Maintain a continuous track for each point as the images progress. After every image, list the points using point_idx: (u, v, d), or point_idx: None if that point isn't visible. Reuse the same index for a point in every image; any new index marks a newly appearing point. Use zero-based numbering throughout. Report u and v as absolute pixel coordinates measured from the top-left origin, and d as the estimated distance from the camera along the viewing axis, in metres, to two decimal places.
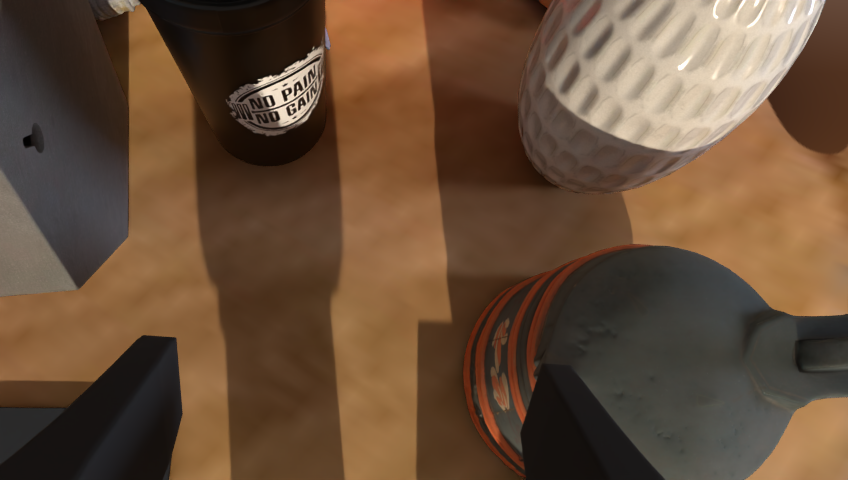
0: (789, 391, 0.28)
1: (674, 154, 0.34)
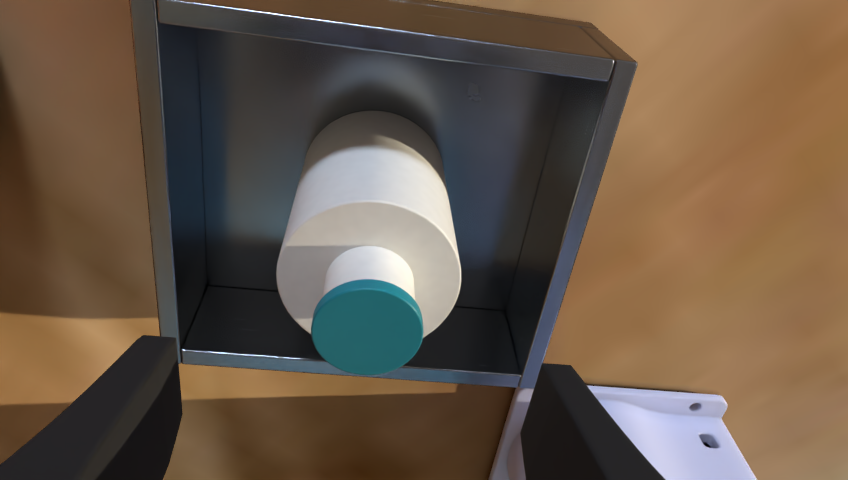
0: None
1: None
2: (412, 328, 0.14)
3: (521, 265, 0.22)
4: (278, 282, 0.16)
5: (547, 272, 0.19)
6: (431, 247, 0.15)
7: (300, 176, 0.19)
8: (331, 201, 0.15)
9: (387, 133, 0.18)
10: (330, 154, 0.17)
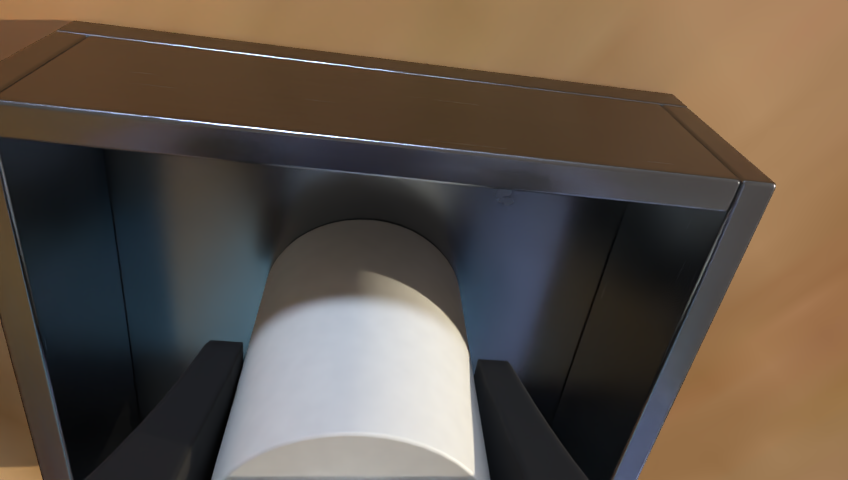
0: None
1: None
2: None
3: (565, 409, 0.17)
4: None
5: (611, 451, 0.14)
6: None
7: (255, 321, 0.13)
8: (285, 428, 0.09)
9: (380, 266, 0.12)
10: (294, 307, 0.12)
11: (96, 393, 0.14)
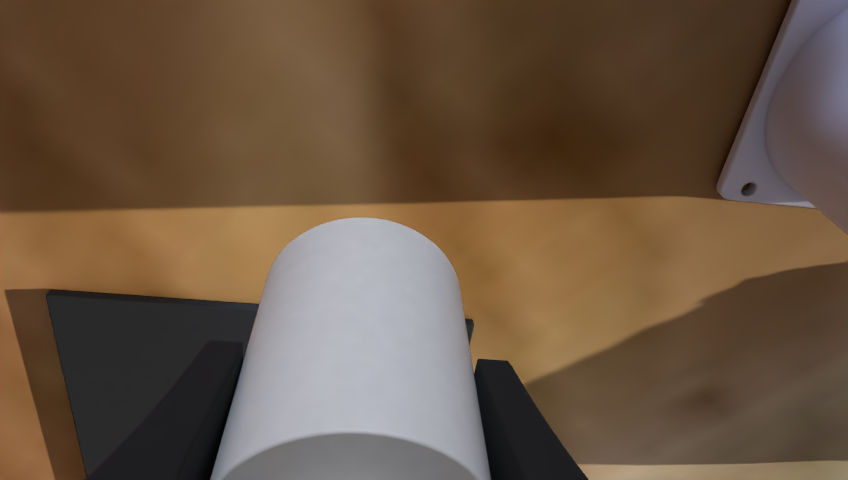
0: None
1: None
2: None
3: None
4: None
5: None
6: None
7: (255, 319, 0.13)
8: (284, 425, 0.09)
9: (380, 264, 0.12)
10: (294, 305, 0.12)
11: None
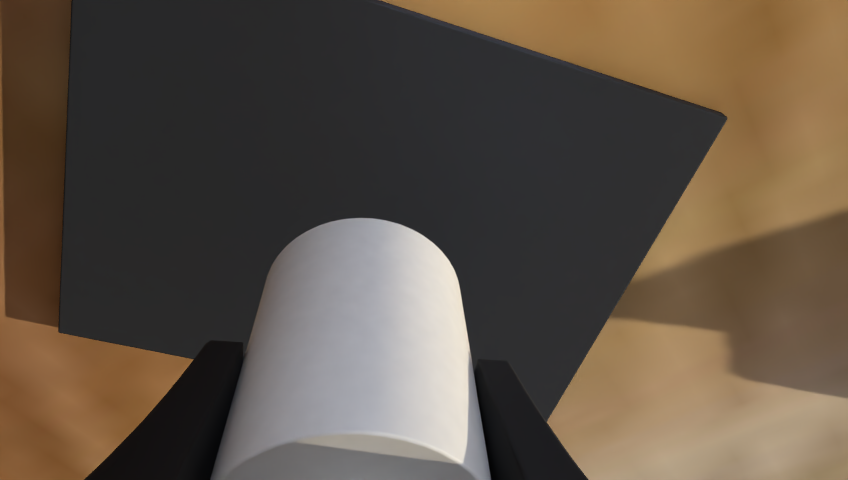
0: None
1: None
2: None
3: None
4: None
5: None
6: None
7: (255, 319, 0.13)
8: (285, 426, 0.09)
9: (380, 265, 0.12)
10: (294, 305, 0.12)
11: None
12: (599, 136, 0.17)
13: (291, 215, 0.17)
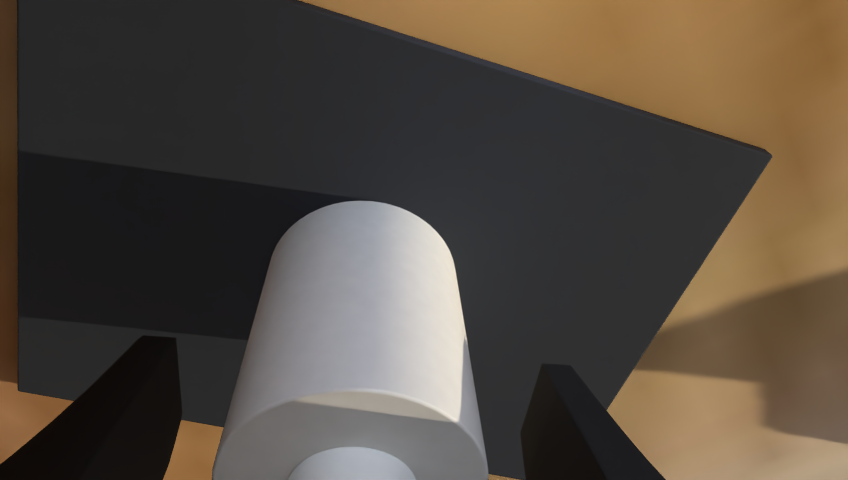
0: None
1: None
2: None
3: None
4: None
5: None
6: (444, 445, 0.10)
7: (260, 296, 0.14)
8: (290, 385, 0.10)
9: (379, 243, 0.13)
10: (298, 280, 0.12)
11: None
12: (626, 176, 0.15)
13: None
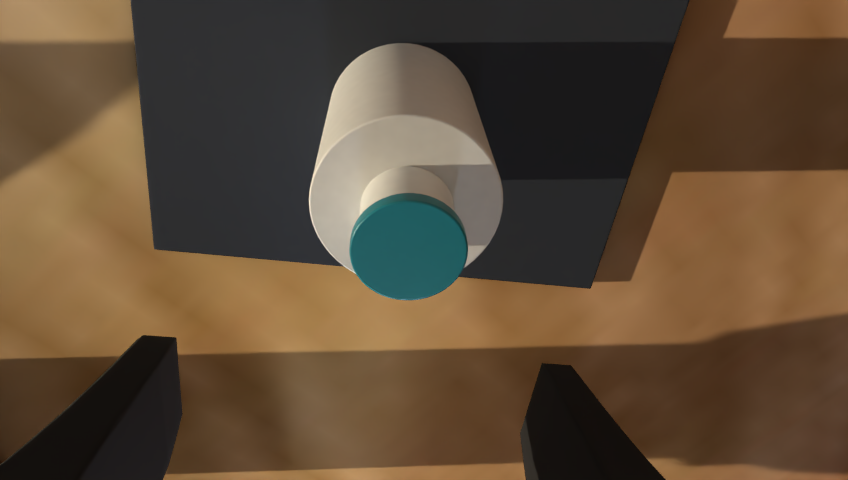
0: None
1: None
2: (363, 265, 0.13)
3: None
4: (500, 192, 0.15)
5: None
6: None
7: None
8: None
9: None
10: None
11: None
12: (241, 222, 0.22)
13: None
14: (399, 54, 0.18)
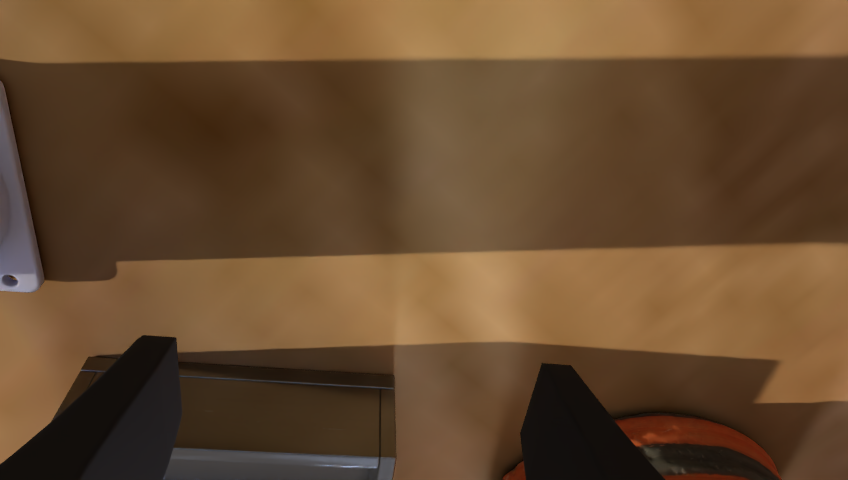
0: None
1: None
2: None
3: None
4: None
5: None
6: None
7: None
8: None
9: None
10: None
11: None
12: None
13: None
14: None
